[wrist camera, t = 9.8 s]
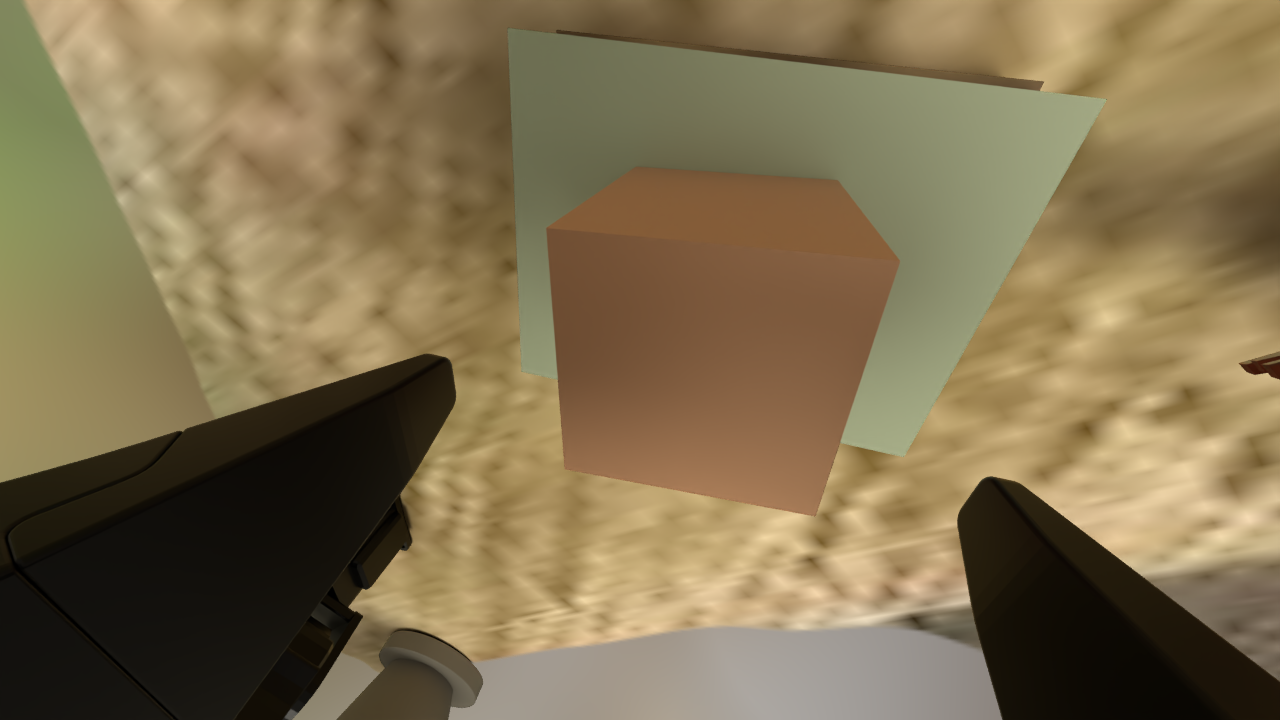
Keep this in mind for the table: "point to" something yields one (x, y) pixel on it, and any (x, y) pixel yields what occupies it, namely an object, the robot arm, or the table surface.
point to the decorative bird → (1264, 365)
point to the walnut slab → (837, 63)
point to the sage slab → (805, 148)
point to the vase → (417, 681)
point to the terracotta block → (714, 330)
